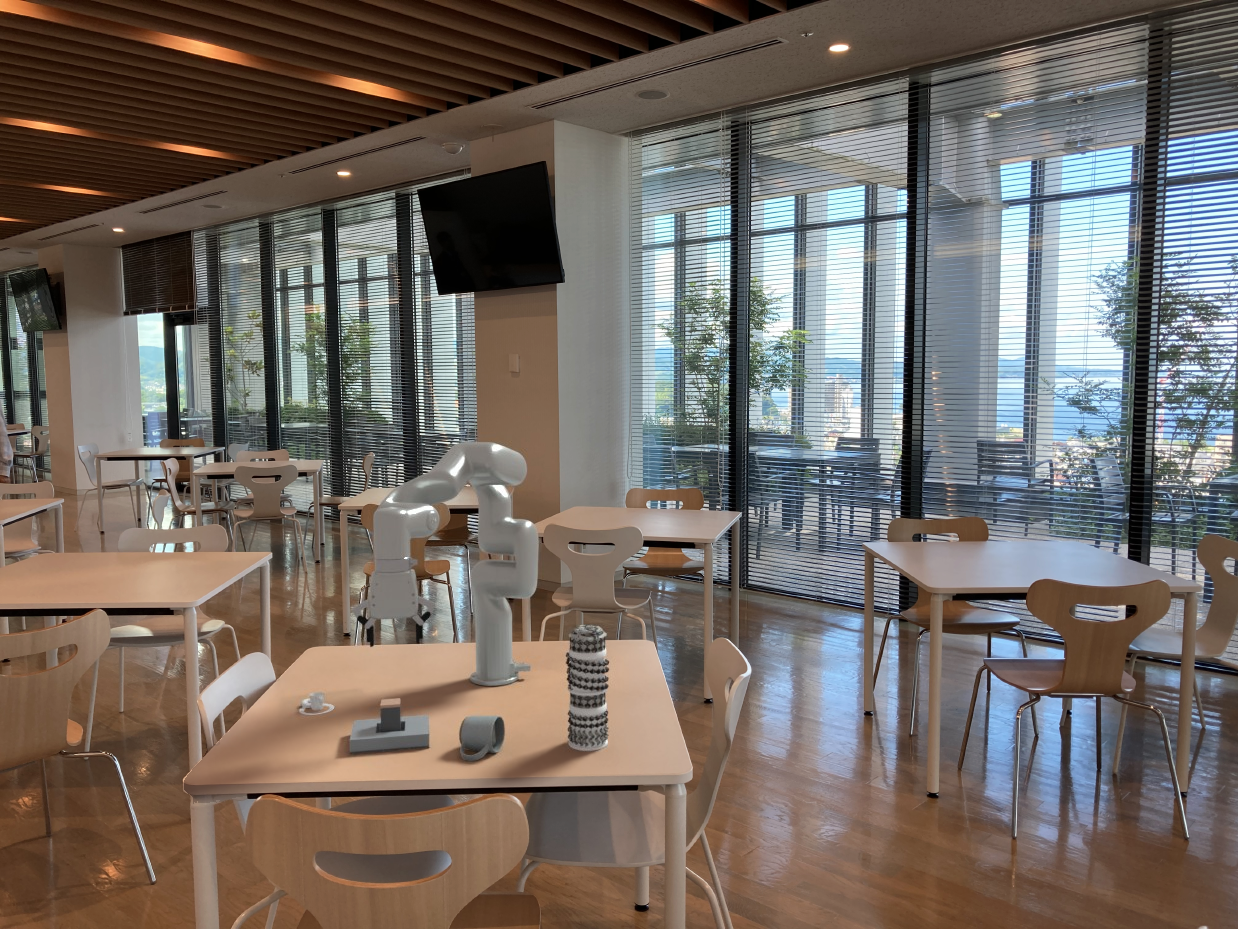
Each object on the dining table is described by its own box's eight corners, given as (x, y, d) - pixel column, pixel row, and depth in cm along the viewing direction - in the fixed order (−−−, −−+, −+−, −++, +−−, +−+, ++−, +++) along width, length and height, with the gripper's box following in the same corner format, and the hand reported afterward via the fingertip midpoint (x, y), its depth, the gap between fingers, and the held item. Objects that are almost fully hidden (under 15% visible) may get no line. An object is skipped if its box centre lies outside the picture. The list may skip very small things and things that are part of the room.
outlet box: (428, 728, 200) (428, 714, 200) (429, 747, 189) (428, 733, 188) (354, 733, 197) (354, 720, 197) (349, 754, 185) (349, 740, 185)
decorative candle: (559, 740, 192) (558, 625, 191) (597, 732, 197) (596, 620, 195) (578, 754, 184) (577, 634, 183) (617, 746, 189) (617, 629, 187)
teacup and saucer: (298, 707, 216) (297, 690, 216) (332, 702, 219) (332, 686, 219) (299, 718, 208) (299, 701, 208) (335, 714, 211) (335, 697, 211)
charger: (401, 734, 195) (400, 698, 195) (400, 741, 191) (399, 704, 191) (382, 735, 194) (381, 699, 194) (381, 742, 190) (380, 705, 190)
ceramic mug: (471, 741, 192) (470, 708, 191) (506, 745, 190) (505, 711, 189) (451, 761, 182) (450, 725, 182) (487, 764, 180) (486, 728, 180)
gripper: (433, 560, 198) (435, 636, 199) (352, 564, 194) (354, 641, 196) (434, 566, 191) (436, 645, 192) (349, 570, 187) (352, 651, 188)
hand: (395, 643), depth 194 cm, fingers open, 9 cm apart
